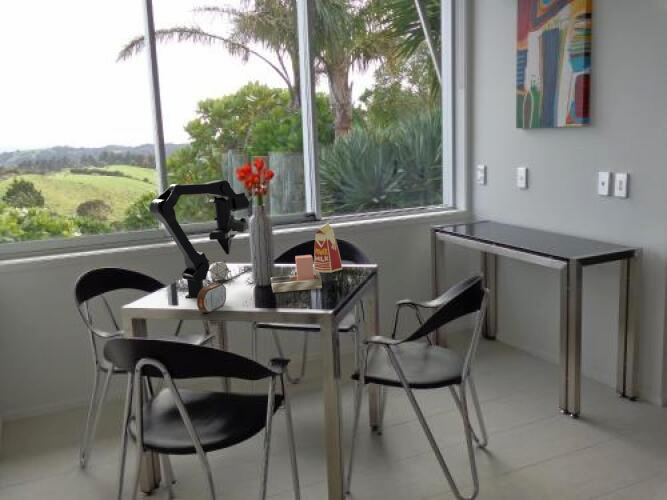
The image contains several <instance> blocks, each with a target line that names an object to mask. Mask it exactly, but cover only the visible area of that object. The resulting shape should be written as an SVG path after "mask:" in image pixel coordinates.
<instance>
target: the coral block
mask: <svg viewBox="0 0 667 500" xmlns="http://www.w3.org/2000/svg"><path fill="white" fill-rule="evenodd" d="M294 257H295V258H294V260H295V271H296V275H297V281H301V280H312V279H314V273H315V271H314V256H312V254H305V255H295V256H294Z"/></svg>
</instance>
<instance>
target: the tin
mask: <svg viewBox="0 0 667 500" xmlns="http://www.w3.org/2000/svg"><path fill="white" fill-rule="evenodd" d="M226 300H227V288H226V286H225V284H223V283H217V282H214V283H212V284H209V285H206V286H204V288H202V289H201V290H200V292H199V294H198V297H196V306H197V310H198V311H199V312H200V313H206V314H207V313H208V314H209V313H212V312H214V311H216V310H217V309H220V308H222V307H223V306H224V305H225V303H226Z"/></svg>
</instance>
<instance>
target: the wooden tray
mask: <svg viewBox="0 0 667 500" xmlns="http://www.w3.org/2000/svg"><path fill="white" fill-rule="evenodd" d="M322 282H323V281H322V276H321V275H320V272H318V271H314V279H312V280H301V281H297V274H293V275H284V276H283V275H282V276H273V277H270V283H271V284H270V285H271V289H272V293H273V294H274V293H281V292H282V293H284V292H294V291H303V290H313V289H315V290H316V289H317V290H318V289H322V288H323V286H322V285H323V284H322Z"/></svg>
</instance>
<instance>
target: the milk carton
mask: <svg viewBox="0 0 667 500" xmlns="http://www.w3.org/2000/svg"><path fill="white" fill-rule="evenodd" d="M313 251H314V254H313V255H314V256H313V272H315V271H318V273H333V272H337V271H342V270H343V264H342V261H341V260H342V259H341V255H340V249H339V247H338V242H337V238H336V235H335V231H334V229H333V228H332V226H331V225H330V222H329V221H327V222H326V223H325V224H324V225H323V226H320V227H318V231H317V232H315V239H314V250H313Z"/></svg>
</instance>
